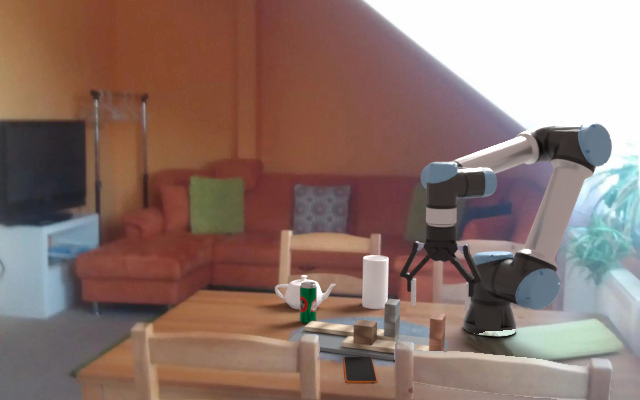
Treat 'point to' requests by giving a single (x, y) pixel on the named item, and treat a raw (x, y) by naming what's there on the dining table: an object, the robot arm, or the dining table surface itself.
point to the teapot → (294, 292)
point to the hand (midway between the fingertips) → (439, 306)
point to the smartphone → (359, 370)
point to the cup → (375, 281)
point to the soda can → (308, 302)
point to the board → (335, 345)
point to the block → (365, 332)
